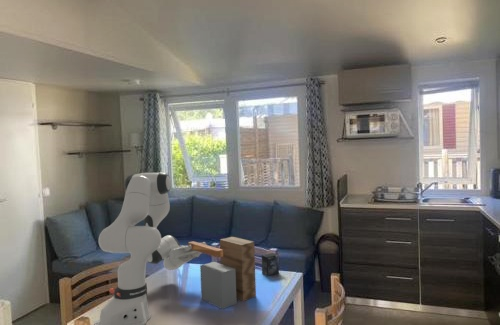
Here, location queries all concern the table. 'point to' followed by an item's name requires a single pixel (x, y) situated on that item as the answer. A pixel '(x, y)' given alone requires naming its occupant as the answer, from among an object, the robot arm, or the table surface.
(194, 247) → the bar
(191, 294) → the table surface
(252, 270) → the tall plinth
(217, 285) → the low plinth
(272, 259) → the box
